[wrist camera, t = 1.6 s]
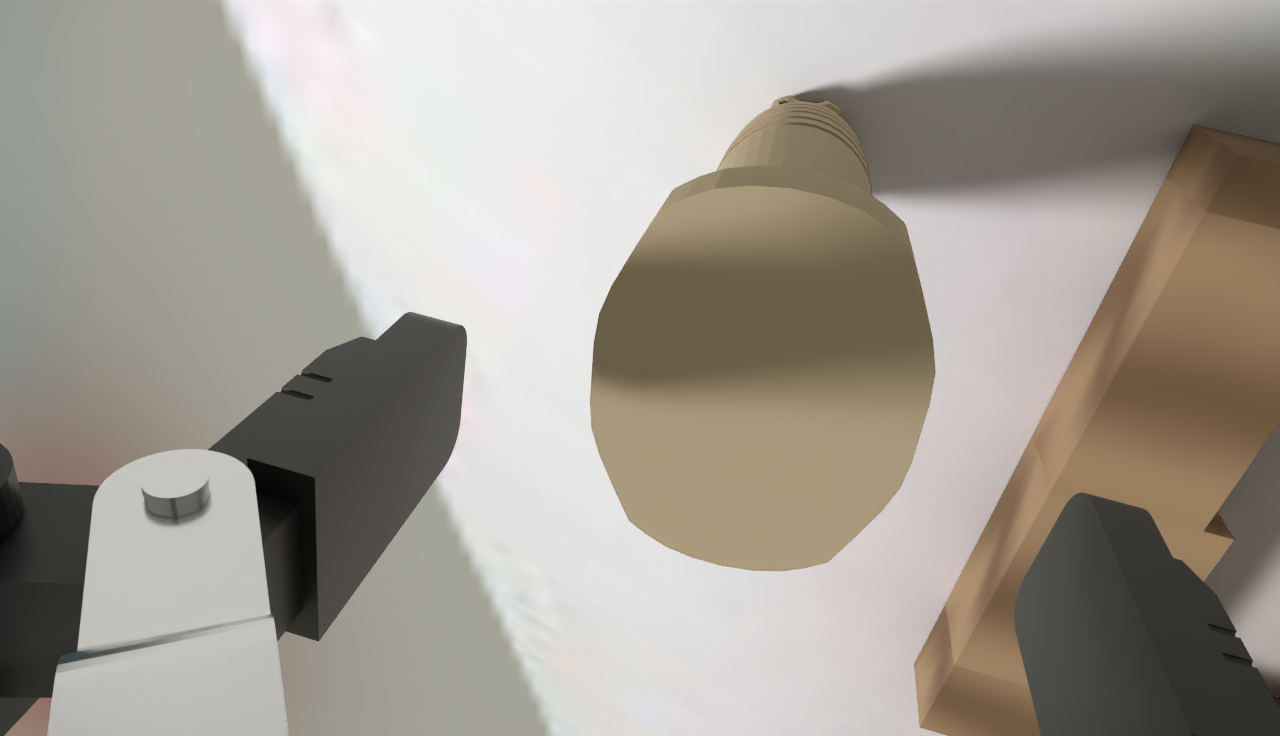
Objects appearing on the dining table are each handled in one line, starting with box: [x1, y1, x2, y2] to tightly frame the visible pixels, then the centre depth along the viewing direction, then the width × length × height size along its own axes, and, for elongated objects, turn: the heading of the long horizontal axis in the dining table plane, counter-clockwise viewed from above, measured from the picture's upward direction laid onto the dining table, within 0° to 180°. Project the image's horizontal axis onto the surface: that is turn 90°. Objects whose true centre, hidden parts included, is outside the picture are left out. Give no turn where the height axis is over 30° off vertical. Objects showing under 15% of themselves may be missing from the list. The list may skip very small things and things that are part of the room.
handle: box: [590, 96, 935, 571], centre depth 19 cm, size 5×6×15 cm
